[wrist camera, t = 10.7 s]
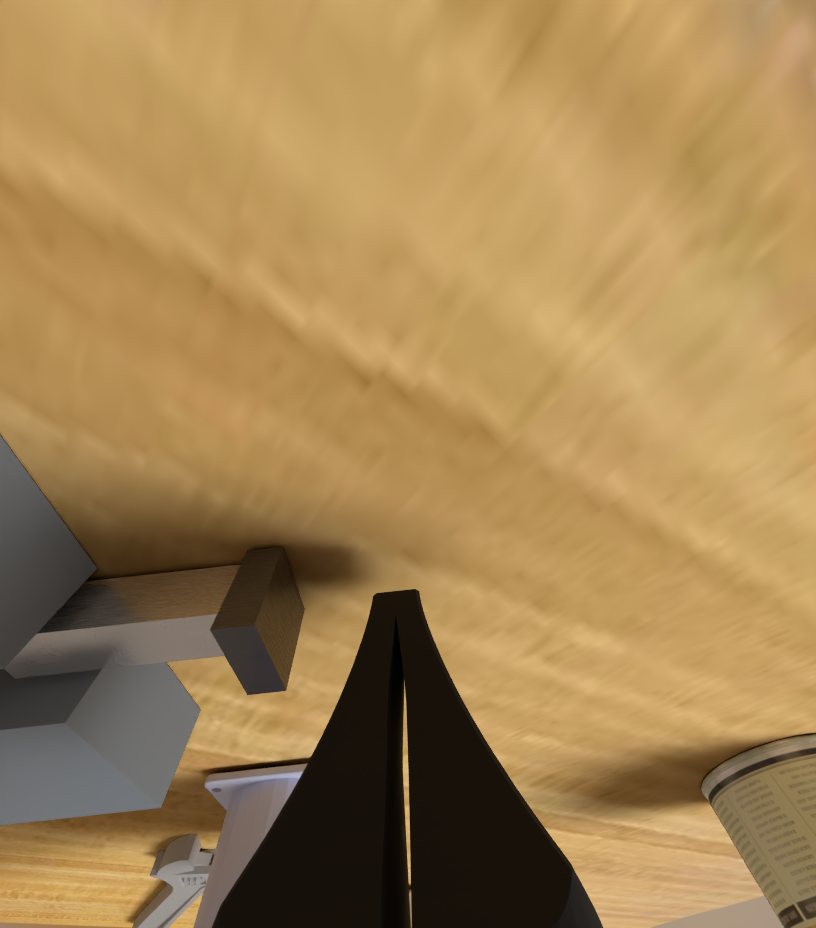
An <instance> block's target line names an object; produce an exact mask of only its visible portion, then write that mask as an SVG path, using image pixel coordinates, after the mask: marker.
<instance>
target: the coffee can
mask: <svg viewBox="0 0 816 928" xmlns="http://www.w3.org/2000/svg"><path fill="white" fill-rule="evenodd" d="M701 790H702V793H703V795H704V796H705V798H706V799H708V801H709V803H710V804H711V806H712V808H713V810H714V811H715V813H716V815H717V816H718V818H719V820H720V821H721V823H722V825H723V826H724V828H725V829H726V831H727V833H728V834H729V836H730V838H731V840H732V841H733V843H734V845H735V846H736V848H737V850H738V851H739V853H740V855H741V857H742V858H743V860H744V862H745V863H746V865H747V867H748V869H749V870H750V872H751V874H752V875H753V877H754V878H755V880H756V882H757V883H758V885H759V887H760V888H761V890H762V892H763V893H764V895H765V897H766V898H767V900H768V902H769V904H770V905H771V907H772V909H773V910H774V912H775V914H776V915H777V917H778V919H779V920H780V922H781V924H782V925H783V927H784V928H816V734H809V735H802V736H796V737H790V738H786V739H782V740H778V741H774V742H772V743H768V744H765V745H762V746H759V747H756V748H753V749H751V750H748V751H746V752H743V753H741V754H739V755H737V756H735V757H733V758H731V759H729V760H727V761H725V762H723V763H722V764H721V765H719V766H718V767H717V768H715V769H714V770H713V771H712V772H710V773H709V774H708V775H707V777H706V778H705V779H704V780H703V784H702V786H701Z"/></svg>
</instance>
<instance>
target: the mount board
mask: <svg viewBox="0 0 816 928" xmlns="http://www.w3.org/2000/svg"><path fill="white" fill-rule="evenodd" d="M96 569H97V567H96V566H95V564H94V563H93V562H92V560H91V559H90V558H89V556H88V555H87V553H86V552H85V551H84V549H83V548H82V547H81V545H80V544H79V542H78V541H77V540H76V538H75V537H74V536H73V534H72V533H71V532H70V530H69V529H68V527H67V526H66V525H65V523H64V522H63V521H62V519H61V518H60V516H59V515H58V514H57V512H56V511H55V510H54V508H53V507H52V505H51V504H50V503H49V501H48V500H47V499H46V497H45V496H44V494H43V493H42V492H41V490H40V489H39V488H38V486H37V485H36V483H35V482H34V481H33V479H32V478H31V477H30V475H29V474H28V473H27V471H26V470H25V468H24V467H23V466H22V464H21V463H20V462H19V460H18V459H17V457H16V456H15V455H14V453H13V452H12V451H11V449H10V448H9V446H8V445H7V444H6V442H5V441H4V440H3V438H2V437H1V435H0V826H1V825H10V824H19V823H28V822H37V821H47V820H56V819H65V818H74V817H83V816H92V815H101V814H110V813H119V812H128V811H137V810H146V809H155V808H161V806H162V804H163V801H164V799H165V797H166V794H167V792H168V789H169V787H170V784H171V782H172V779H173V777H174V775H175V772H176V770H177V767H178V765H179V762H180V760H181V757H182V755H183V752H184V750H185V748H186V745H187V743H188V740H189V738H190V735H191V733H192V730H193V728H194V725H195V723H196V721H197V718H198V716H199V713H200V711H201V710H200V709H199V707H198V706H197V704H196V703H195V702H194V700H193V699H192V698H191V696H190V695H189V693H188V692H187V691H186V689H185V688H184V687H183V685H182V684H181V682H180V681H179V680H178V678H177V677H176V676H175V674H174V673H173V671H172V670H171V669H170V667H169V666H168V665H167V663H166V662H162V663H153V664H144V665H135V666H126V667H117V668H107V669H98V670H89V671H80V672H71V673H62V674H52V675H43V676H34V677H25V678H16V679H15V678H14V677H13V676H12V675H10V674H9V673H8V672H7V671H6V670H5V669H4V668H5V667H6V666H7V665H8V664H9V663H10V662H11V661H12V660H13V659H14V657H15V656H16V655H17V654H18V653H19V652H20V651H21V650H22V649H23V648H24V647H25V646H26V645H27V643H28V642H29V641H30V640H31V639H32V638H33V637H34V636H35V635H36V634H37V633H38V632H39V631H40V629H41V628H42V627H43V626H44V625H45V624H46V623H47V622H48V621H49V620H50V619H51V618H52V617H53V615H54V614H55V613H56V612H57V611H58V610H59V609H60V608H61V607H62V606H63V605H64V604H65V603H66V601H67V600H68V599H69V598H70V597H71V596H72V595H73V594H74V593H75V592H76V591H77V590H78V589H79V587H80V586H81V585H82V584H83V583H84V582H85V581H86V580H87V579H88V578H89V577H90V576H91V575H92V573H93V572H94V571H95V570H96Z"/></svg>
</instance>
